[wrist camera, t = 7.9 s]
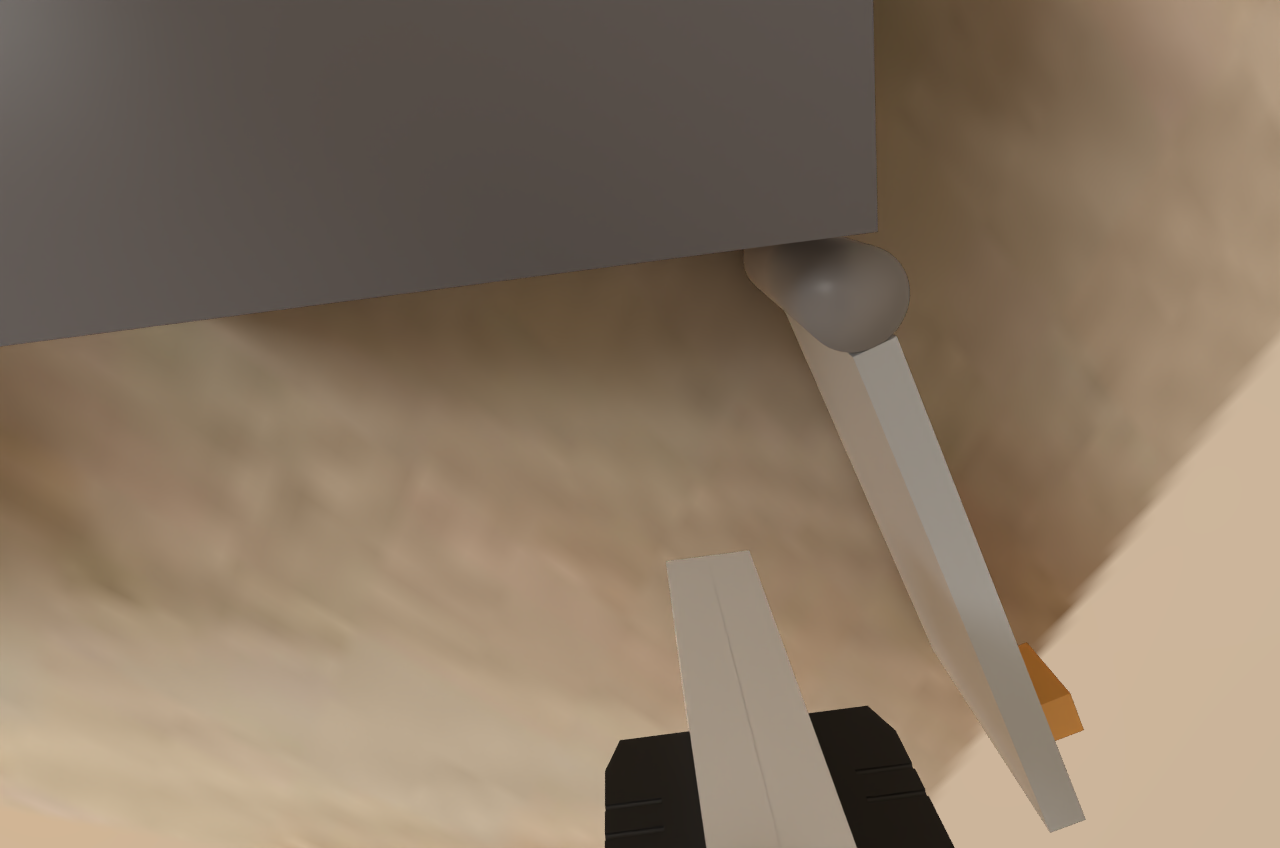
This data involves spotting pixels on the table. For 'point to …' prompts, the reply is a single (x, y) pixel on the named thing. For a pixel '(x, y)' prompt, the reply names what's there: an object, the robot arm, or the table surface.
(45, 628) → the table surface
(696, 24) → the camera body
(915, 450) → the side door
